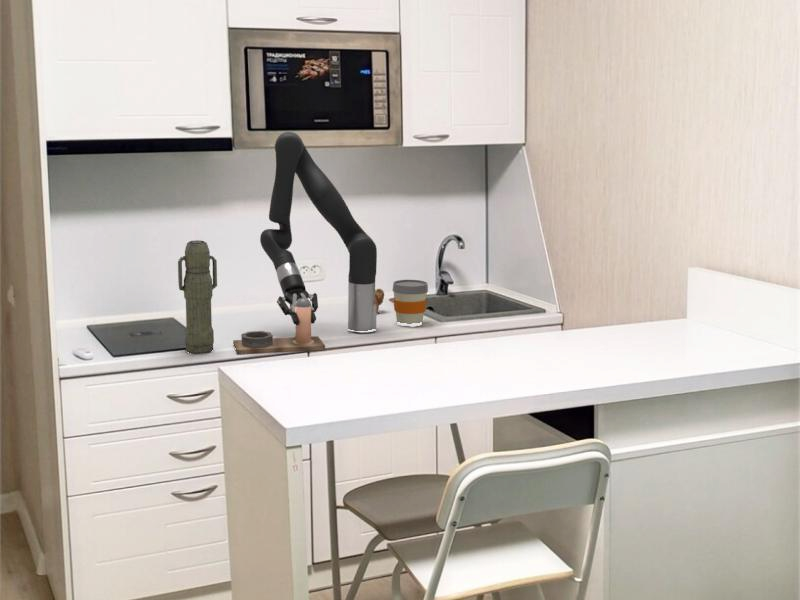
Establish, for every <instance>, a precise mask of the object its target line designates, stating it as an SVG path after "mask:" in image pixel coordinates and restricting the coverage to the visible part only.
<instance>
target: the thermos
mask: <svg viewBox="0 0 800 600" xmlns="http://www.w3.org/2000/svg"><path fill="white" fill-rule="evenodd" d="M210 253H211V252H210V248H209V245H208V243H207V242H206V241H204V240H199V239H198V240H197V239H196V240H190V241H189V242H187V243H186V245H185V249H184V255H183V256H180V258H178V261H177V276H178V277H177V278H178V279H177V280H178V289H179V290H180V291H182V292H183V298H184V300H185V316H186V317H185V322H186V323H185V324H186V325H185V329H184V343H185V352H186V351H187V352H189V353H188V354H190V353H191V355H206V354H211V353H212V352H211V351H212V350H213V351H214V343H215V341H214V339H215V337H214V335H215V334H214V329H213V328H214V327H213V326H212V325H213V324H212V323H213V322H212V321H213V320H212V298H213V296H214V295H213V290H214V289H215V288H217V287H218V271H217V270H218V269H217V268H218V267H217V262H218V261H217V259H216V258H215V257H214V256H213V255H210ZM210 260H211V261H212V276H211V269H210V267H211V266H210V265H211V264H210V263H211V261H210ZM183 261H184V267H185V274H184V277H183ZM187 352H186V353H187Z"/></svg>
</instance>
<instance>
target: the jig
mask: <svg viewBox="0 0 800 600" xmlns="http://www.w3.org/2000/svg"><path fill="white" fill-rule="evenodd" d="M240 336H241V339H233V342H232V345H233V344H234V345H233V347H234V346H235V348H236V350H235V353H236V355H253V354H255V355H257V354H273V353H274V354H275V353H276V354H277V353H291V352H293V353H295V352H309V351H310V352H312V351H326V345H325V343H324V342H323V340H322V339H321V338H320V337H319V336H318V335H315V336H313V335H311V342H310V343H305V344H301V343H296V336H295V337H292V336H291V337H277V338H275V337H273V334H272V333H271V332H270V331H269V332H268V331H263V330H257V331H255V330H254V331H253V330H252V331H247V332H244V333H241V335H240ZM235 348H234V349H235Z"/></svg>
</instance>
